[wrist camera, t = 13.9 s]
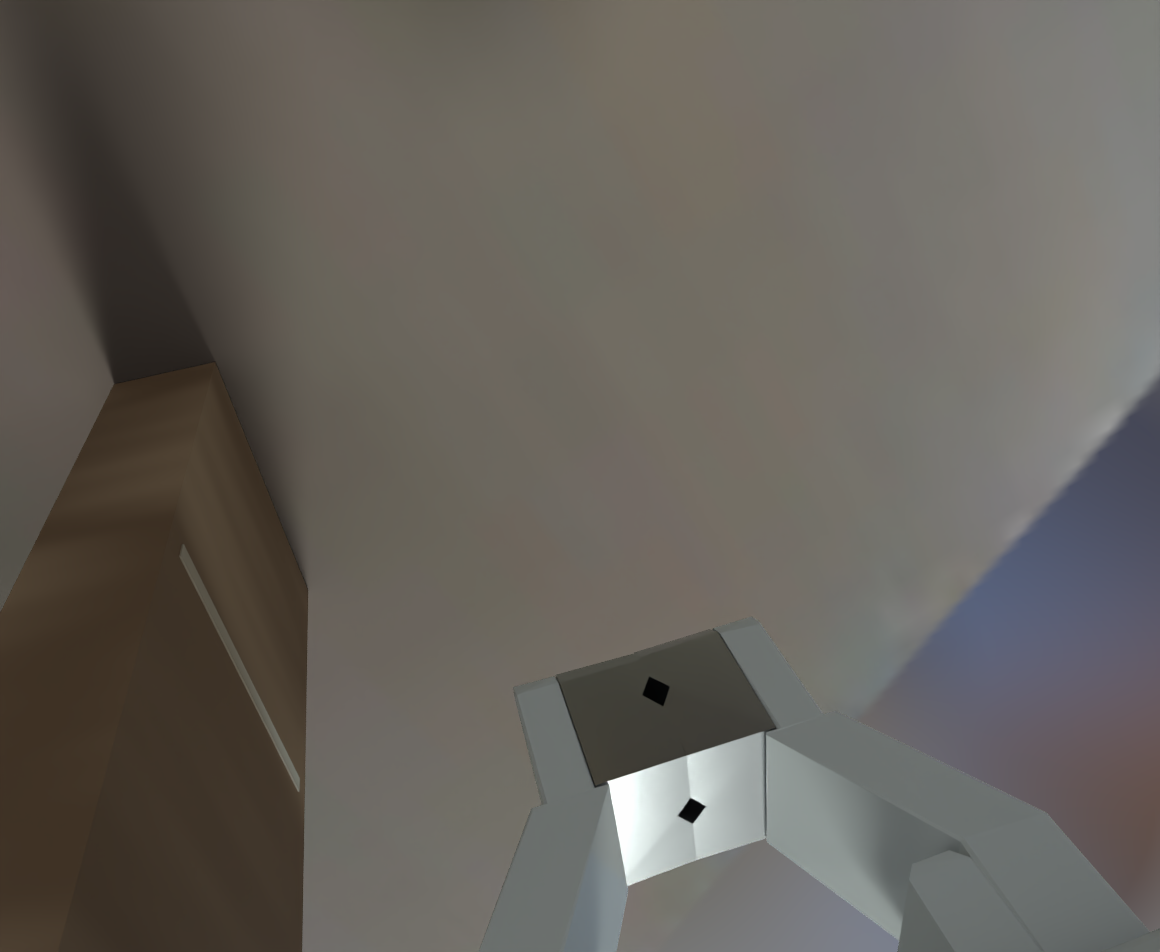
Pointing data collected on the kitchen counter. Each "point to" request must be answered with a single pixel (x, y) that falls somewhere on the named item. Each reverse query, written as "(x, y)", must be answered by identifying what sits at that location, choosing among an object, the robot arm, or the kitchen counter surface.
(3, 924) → the domino
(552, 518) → the kitchen counter surface
